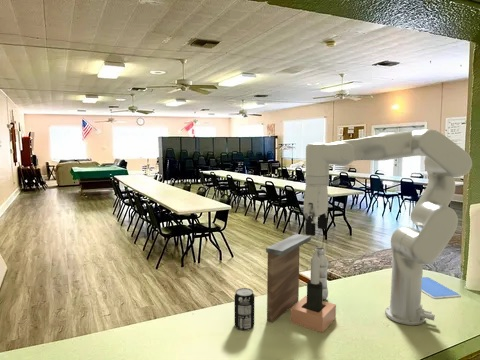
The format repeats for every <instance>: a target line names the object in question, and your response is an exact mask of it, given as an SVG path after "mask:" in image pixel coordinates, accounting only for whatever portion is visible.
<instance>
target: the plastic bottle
mask: <svg viewBox="0 0 480 360" xmlns="http://www.w3.org/2000/svg"><path fill="white" fill-rule="evenodd" d="M315 249H316V250H317V255H318V257H319V259H320V274H319V281H320V282H322V285H323V290H322V301H325V300H327V298H328V297H329V289H328V269H329V264H330V263H329V260H328V258H327V256H326V248H324V247H320V246H319V247H316V248H315Z"/></svg>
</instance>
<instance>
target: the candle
mask: <svg viewBox="0 0 480 360" xmlns="http://www.w3.org/2000/svg"><path fill="white" fill-rule="evenodd" d="M319 274H320V259H319V257H318V255H317V250H316V248H315V249H314V253H313V255H312V256H311V259H310V280H308V281H307V283H306V296H307V309H308V310H312V311H315V312H318V313H319V312H320V311H321V310H322V301H323V300H322V290H323V285H322V282H320V281H319Z"/></svg>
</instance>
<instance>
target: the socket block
mask: <svg viewBox="0 0 480 360" xmlns="http://www.w3.org/2000/svg"><path fill="white" fill-rule="evenodd" d="M336 311H337V304H335V303H332V302H329V301H325V300H322V310H321V311H320V312H319V313H318V312H315V311H312V310H308V309H307V295H305V296H303V297H302V298H301V299H300V300H298V302H297V303H296V304H295V305H294V306H292V307H291V308H290V323H292V324H295V325H298V326H301V327H305V328H307V329H309V330H313V331H316V332H319V333H321V334H323V333H324V332H325V331H326V330H327V329H328V328H329V326H330V325H331V324H332V323H333V322H334V321H335V319H336V314H337V312H336Z"/></svg>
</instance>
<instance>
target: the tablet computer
mask: <svg viewBox="0 0 480 360" xmlns="http://www.w3.org/2000/svg"><path fill="white" fill-rule="evenodd" d="M421 293H424V294H425V295H427V296H428V297H430V298H431V299H434V300H437V299H450V298H461V297H460V296H461V294H460V293H458V292H456V291H454V290H453V289H451V288H449V287H447V286H445V285H443V284H441V283H440V282H438V281H436V280H434V279H432V278H430V277H428V276H425V277H424V276H422V288H421Z"/></svg>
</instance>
